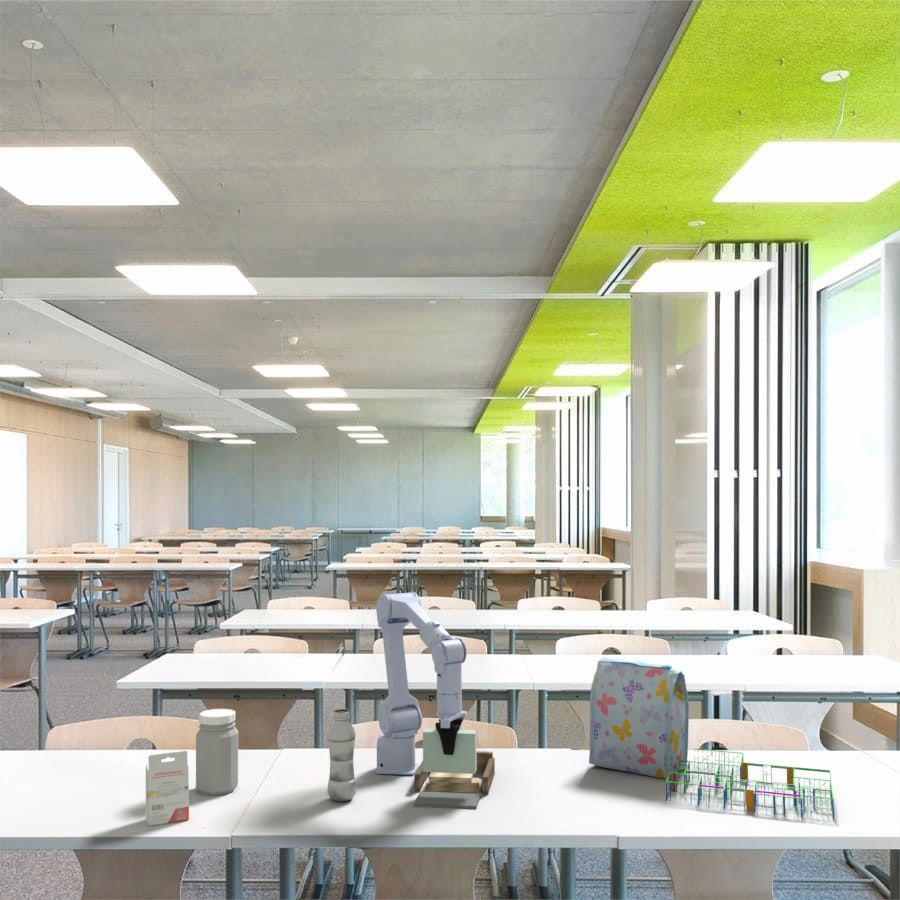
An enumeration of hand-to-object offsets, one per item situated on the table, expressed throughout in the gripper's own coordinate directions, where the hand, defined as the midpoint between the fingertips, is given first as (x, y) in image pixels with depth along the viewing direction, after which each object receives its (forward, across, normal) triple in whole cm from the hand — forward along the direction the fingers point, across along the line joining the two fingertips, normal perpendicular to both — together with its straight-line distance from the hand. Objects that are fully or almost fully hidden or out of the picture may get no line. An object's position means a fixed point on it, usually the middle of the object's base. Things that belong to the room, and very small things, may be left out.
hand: (449, 752), depth 213 cm
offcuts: (+10, +5, 0) cm, 12 cm away
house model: (+11, +13, -69) cm, 71 cm away
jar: (+10, -2, +55) cm, 56 cm away
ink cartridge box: (+10, -22, +58) cm, 63 cm away
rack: (+10, +12, 0) cm, 15 cm away
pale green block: (+4, 0, 0) cm, 4 cm away
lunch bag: (+10, +28, -45) cm, 53 cm away
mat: (+10, -3, 0) cm, 11 cm away
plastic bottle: (+10, -5, +24) cm, 27 cm away
